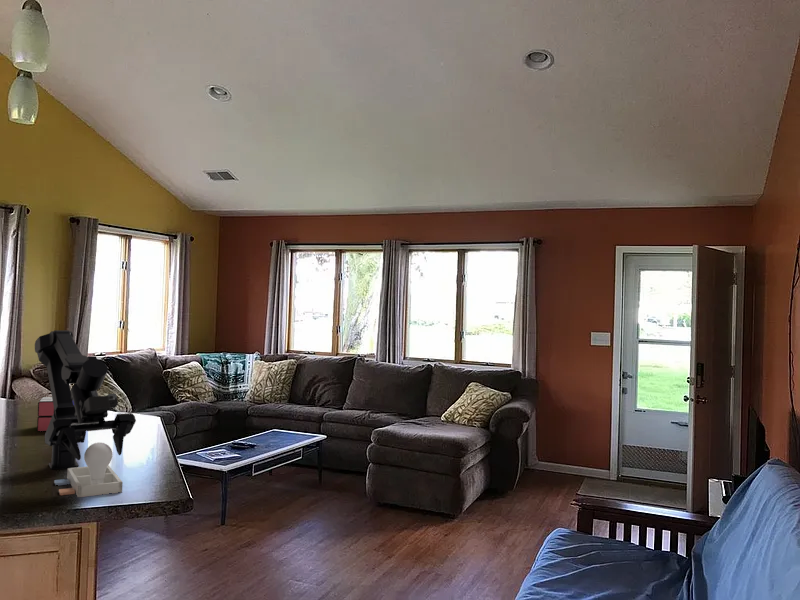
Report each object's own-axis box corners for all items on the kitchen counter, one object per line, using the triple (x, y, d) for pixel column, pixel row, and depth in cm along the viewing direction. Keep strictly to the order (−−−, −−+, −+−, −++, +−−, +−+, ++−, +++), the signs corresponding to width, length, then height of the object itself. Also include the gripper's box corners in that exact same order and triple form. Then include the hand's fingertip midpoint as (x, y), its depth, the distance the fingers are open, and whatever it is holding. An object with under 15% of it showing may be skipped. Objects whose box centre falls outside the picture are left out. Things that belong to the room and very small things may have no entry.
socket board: (52, 479, 163) (53, 469, 163) (107, 473, 170) (108, 464, 170) (62, 499, 148) (62, 488, 148) (122, 492, 155) (122, 482, 155)
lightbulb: (116, 487, 159) (118, 441, 159) (98, 494, 153) (100, 446, 153) (95, 484, 160) (97, 439, 161) (76, 491, 155) (78, 443, 155)
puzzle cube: (70, 431, 220) (72, 401, 220) (36, 432, 217) (38, 401, 217) (73, 425, 230) (74, 396, 230) (40, 426, 226) (42, 397, 226)
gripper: (53, 384, 153) (66, 441, 145) (134, 380, 166) (150, 432, 158) (42, 413, 159) (53, 469, 151) (121, 407, 172) (136, 458, 164)
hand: (100, 456), depth 156 cm, fingers open, 9 cm apart
